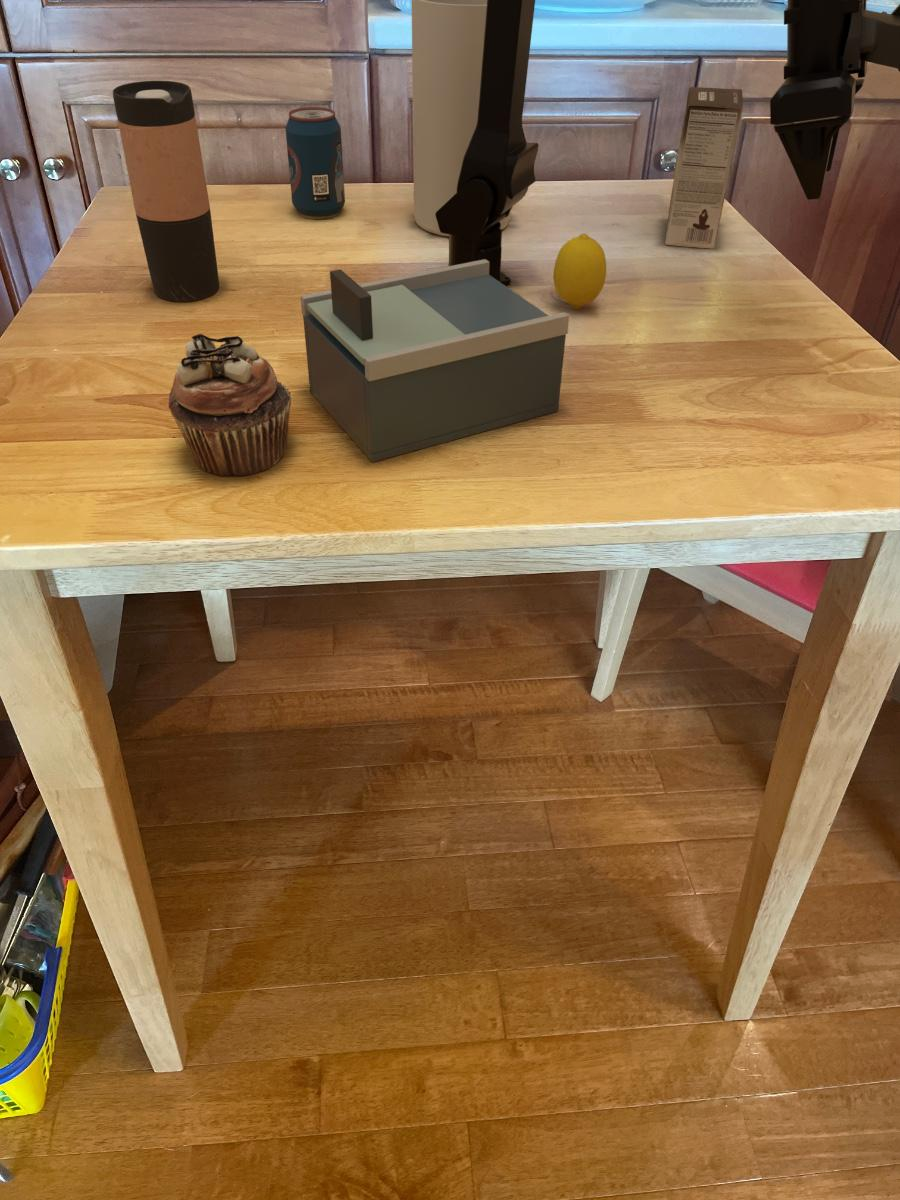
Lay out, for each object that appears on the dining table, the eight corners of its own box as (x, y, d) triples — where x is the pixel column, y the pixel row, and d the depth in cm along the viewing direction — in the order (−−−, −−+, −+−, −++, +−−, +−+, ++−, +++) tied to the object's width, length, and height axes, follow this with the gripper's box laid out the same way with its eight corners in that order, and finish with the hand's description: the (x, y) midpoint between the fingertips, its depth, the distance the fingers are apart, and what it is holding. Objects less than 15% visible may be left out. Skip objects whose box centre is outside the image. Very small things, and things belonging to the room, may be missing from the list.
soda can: (290, 205, 125) (281, 106, 117) (341, 201, 126) (335, 104, 118) (296, 222, 120) (287, 121, 112) (349, 218, 121) (343, 118, 113)
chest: (309, 391, 86) (300, 295, 80) (481, 350, 93) (485, 258, 87) (373, 463, 77) (368, 361, 71) (559, 412, 84) (569, 315, 78)
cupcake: (301, 476, 75) (289, 362, 69) (179, 488, 74) (154, 374, 67) (291, 417, 82) (279, 309, 76) (180, 427, 81) (158, 318, 74)
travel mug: (157, 276, 106) (118, 80, 93) (225, 275, 106) (196, 79, 93) (146, 304, 100) (103, 99, 87) (218, 302, 101) (186, 98, 87)
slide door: (307, 310, 80) (302, 261, 77) (402, 290, 83) (401, 243, 80) (363, 365, 72) (360, 314, 69) (466, 341, 76) (467, 291, 73)
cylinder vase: (511, 240, 116) (524, 6, 99) (411, 239, 116) (408, 4, 99) (508, 207, 125) (519, -12, 109) (416, 205, 125) (413, -14, 109)
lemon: (606, 302, 102) (615, 228, 97) (595, 322, 98) (604, 247, 93) (557, 295, 103) (564, 222, 98) (544, 314, 99) (551, 239, 94)
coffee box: (665, 221, 122) (688, 84, 112) (715, 225, 121) (742, 88, 111) (663, 245, 115) (687, 103, 105) (716, 250, 114) (745, 107, 104)
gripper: (930, -22, 67) (913, 204, 75) (935, -47, 80) (920, 148, 88) (768, 9, 71) (769, 218, 80) (798, -20, 85) (796, 162, 93)
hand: (819, 184), depth 85 cm, fingers open, 9 cm apart
